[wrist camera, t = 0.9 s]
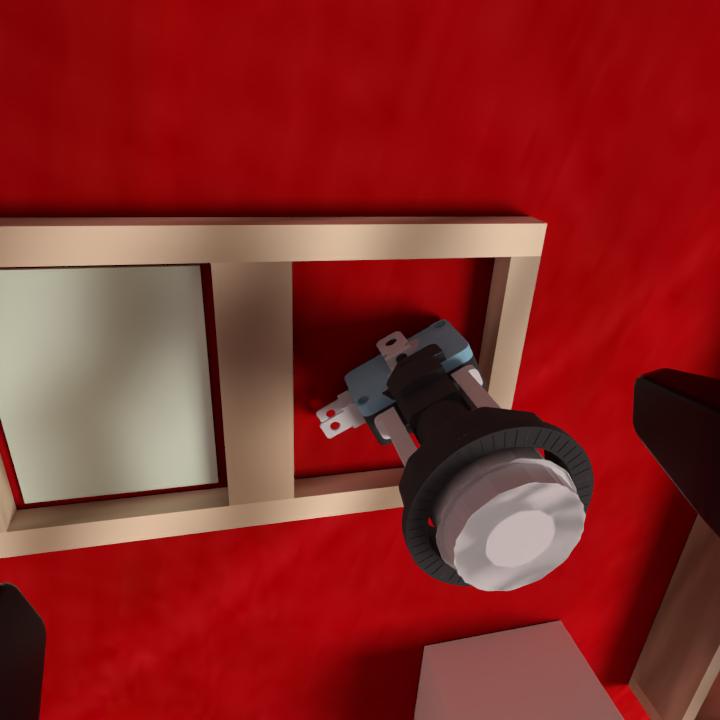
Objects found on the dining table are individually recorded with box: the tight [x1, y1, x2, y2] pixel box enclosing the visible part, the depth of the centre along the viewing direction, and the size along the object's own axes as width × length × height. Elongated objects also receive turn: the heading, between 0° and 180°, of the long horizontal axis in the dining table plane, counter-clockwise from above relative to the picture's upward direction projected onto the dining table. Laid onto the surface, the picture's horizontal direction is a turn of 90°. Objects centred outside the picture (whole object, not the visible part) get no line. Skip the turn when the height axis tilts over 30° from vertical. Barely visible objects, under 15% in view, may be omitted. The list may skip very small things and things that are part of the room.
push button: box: [316, 320, 594, 591], centre depth 18 cm, size 7×5×10 cm
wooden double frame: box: [0, 217, 547, 558], centre depth 21 cm, size 21×12×1 cm, turn 87°
